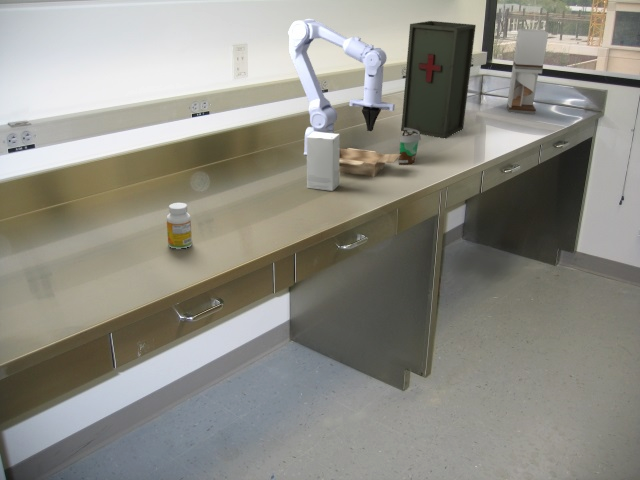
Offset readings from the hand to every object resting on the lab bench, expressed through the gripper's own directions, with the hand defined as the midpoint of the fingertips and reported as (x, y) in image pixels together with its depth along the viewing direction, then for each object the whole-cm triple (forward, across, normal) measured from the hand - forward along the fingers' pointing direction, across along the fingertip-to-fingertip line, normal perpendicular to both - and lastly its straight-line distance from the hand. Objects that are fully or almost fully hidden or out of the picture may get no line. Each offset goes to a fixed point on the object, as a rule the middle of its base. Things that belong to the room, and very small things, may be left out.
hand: (370, 130), depth 213 cm
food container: (+10, +13, +6) cm, 17 cm away
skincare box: (+11, -4, -31) cm, 33 cm away
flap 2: (+6, +7, -9) cm, 13 cm away
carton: (+10, -1, -8) cm, 13 cm away
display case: (+10, +39, +109) cm, 116 cm away
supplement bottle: (+11, -19, -85) cm, 87 cm away
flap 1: (+6, -1, -16) cm, 17 cm away
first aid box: (+10, +10, +53) cm, 55 cm away
